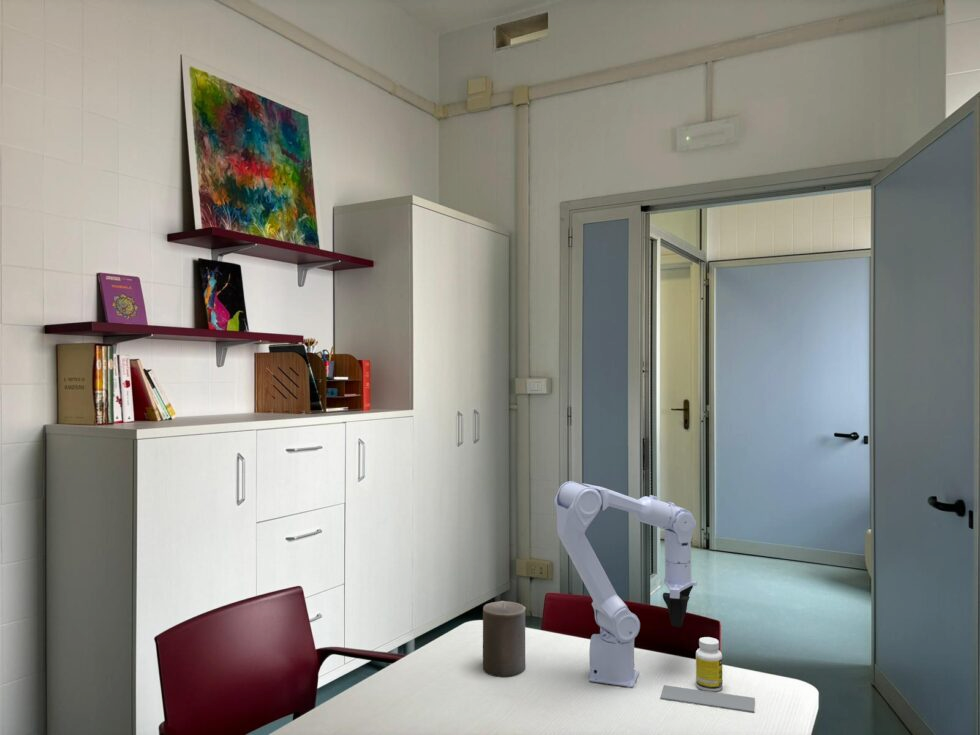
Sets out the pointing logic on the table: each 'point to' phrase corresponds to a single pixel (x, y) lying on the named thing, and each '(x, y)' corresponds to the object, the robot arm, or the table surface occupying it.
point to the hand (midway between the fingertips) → (678, 620)
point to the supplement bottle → (709, 665)
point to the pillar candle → (504, 639)
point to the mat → (708, 698)
